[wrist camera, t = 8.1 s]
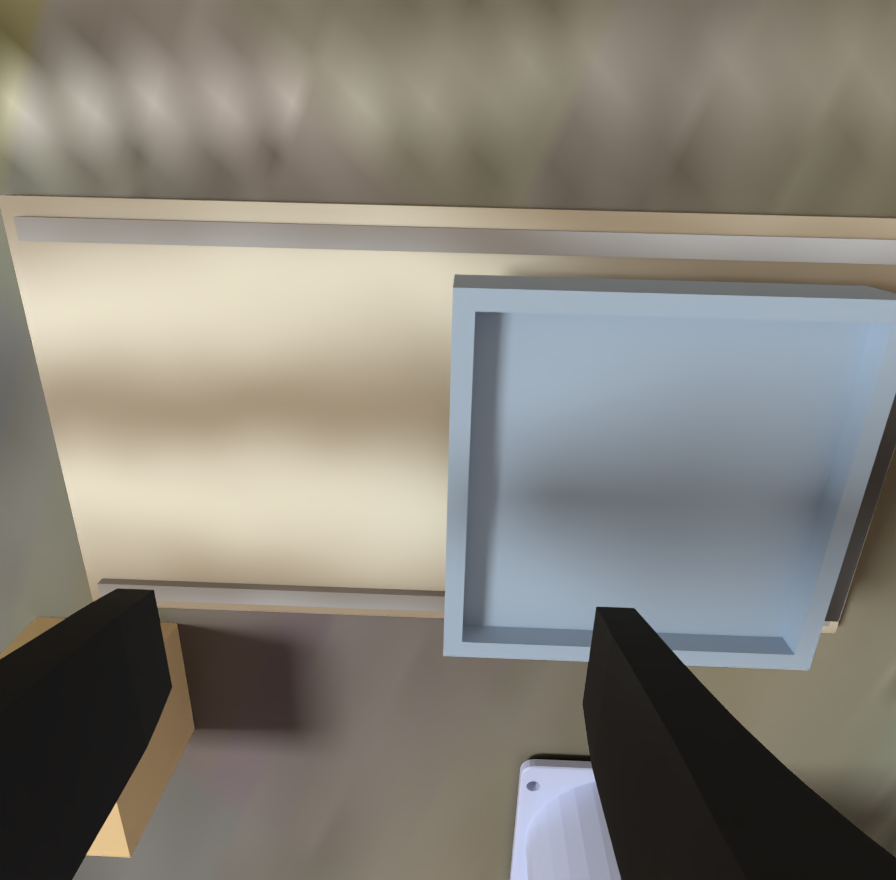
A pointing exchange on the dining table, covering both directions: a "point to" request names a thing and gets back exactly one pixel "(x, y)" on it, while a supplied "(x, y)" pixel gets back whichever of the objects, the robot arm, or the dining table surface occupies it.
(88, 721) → the robot arm
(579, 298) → the blue square tray
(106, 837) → the ochre block
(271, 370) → the track
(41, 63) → the dining table surface
